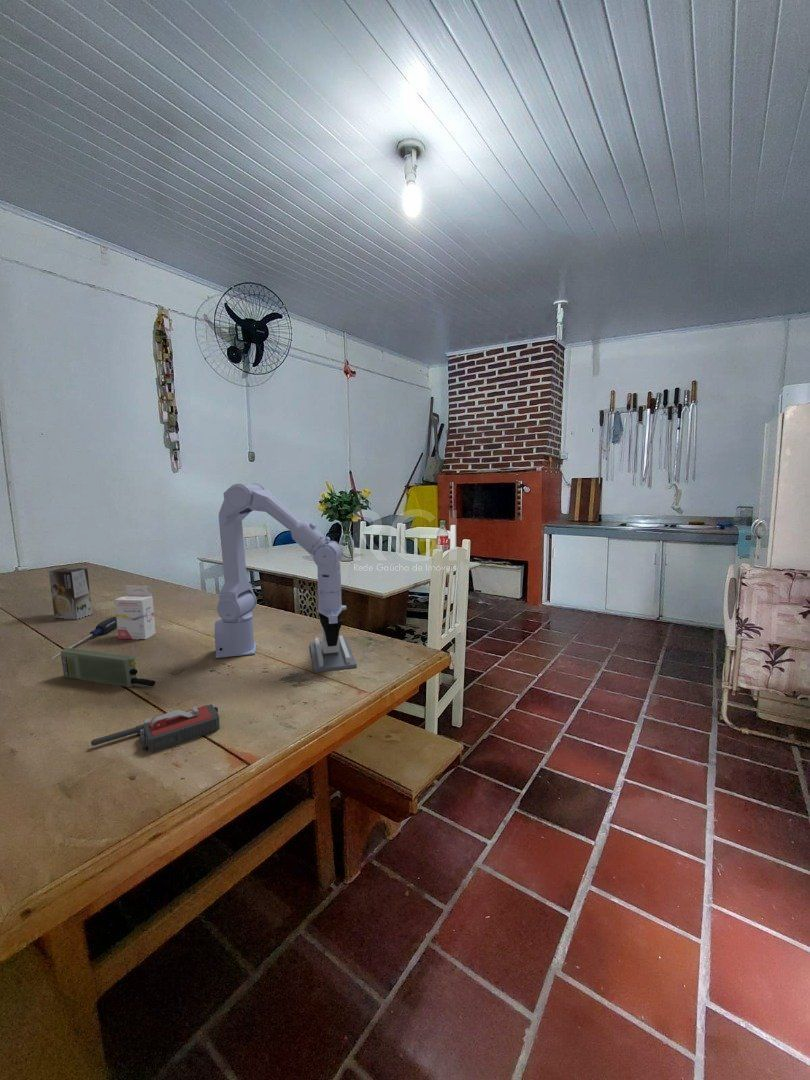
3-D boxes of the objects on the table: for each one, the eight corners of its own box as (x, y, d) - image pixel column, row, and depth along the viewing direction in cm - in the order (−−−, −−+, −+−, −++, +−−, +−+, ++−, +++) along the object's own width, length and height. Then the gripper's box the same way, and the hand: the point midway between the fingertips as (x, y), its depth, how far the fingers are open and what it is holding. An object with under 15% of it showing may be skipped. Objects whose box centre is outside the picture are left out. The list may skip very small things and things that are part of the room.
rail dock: (313, 672, 104) (313, 662, 104) (309, 645, 121) (309, 637, 121) (356, 667, 107) (356, 658, 106) (346, 641, 124) (346, 633, 124)
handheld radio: (75, 672, 106) (160, 685, 99) (61, 679, 102) (148, 692, 95) (71, 646, 104) (157, 656, 97) (57, 651, 101) (144, 663, 94)
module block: (323, 653, 111) (322, 629, 110) (322, 647, 115) (321, 624, 114) (339, 652, 112) (339, 628, 111) (337, 646, 116) (337, 623, 115)
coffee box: (93, 614, 152) (88, 567, 150) (77, 620, 145) (71, 571, 143) (70, 613, 153) (65, 567, 151) (53, 618, 147) (47, 571, 145)
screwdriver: (57, 661, 113) (55, 646, 112) (43, 661, 113) (41, 647, 112) (123, 627, 139) (122, 615, 138) (112, 627, 139) (110, 615, 138)
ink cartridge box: (117, 639, 127) (112, 589, 125) (129, 633, 132) (124, 584, 130) (145, 640, 126) (140, 589, 124) (156, 634, 131) (152, 585, 129)
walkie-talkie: (214, 710, 88) (91, 747, 76) (213, 689, 87) (88, 723, 75) (227, 729, 81) (94, 774, 69) (226, 707, 80) (91, 747, 68)
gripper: (349, 596, 106) (351, 651, 108) (342, 582, 120) (343, 631, 121) (319, 598, 104) (321, 654, 106) (315, 584, 118) (317, 634, 120)
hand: (331, 642), depth 113 cm, fingers closed on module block, 4 cm apart
